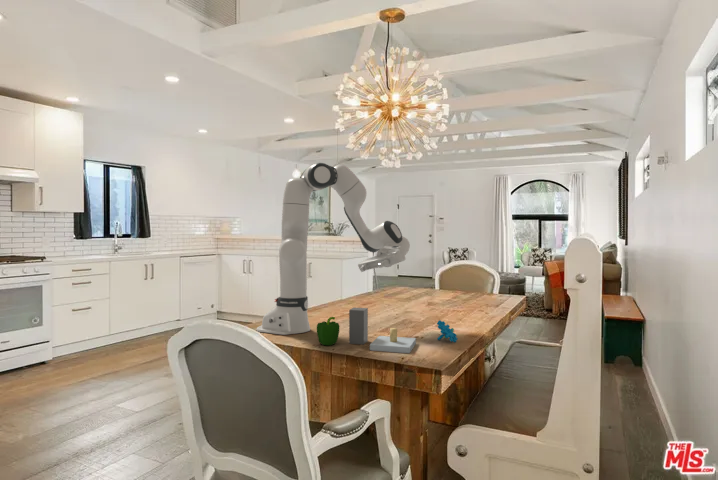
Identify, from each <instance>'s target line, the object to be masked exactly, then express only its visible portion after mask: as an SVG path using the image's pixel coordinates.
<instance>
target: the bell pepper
mask: <svg viewBox="0 0 718 480" xmlns="http://www.w3.org/2000/svg"><path fill="white" fill-rule="evenodd" d="M335 319H336V317H334V316H330V317H328V318H327V320H326V321H322V322H318V323H317V325H316V334H317V340H318V342H319V344H321V345H323V346H332V345H334V344H337V342H338V339H339V335H340V323H338V322H336V321H333V320H335ZM331 320H332V321H331Z"/></svg>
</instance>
